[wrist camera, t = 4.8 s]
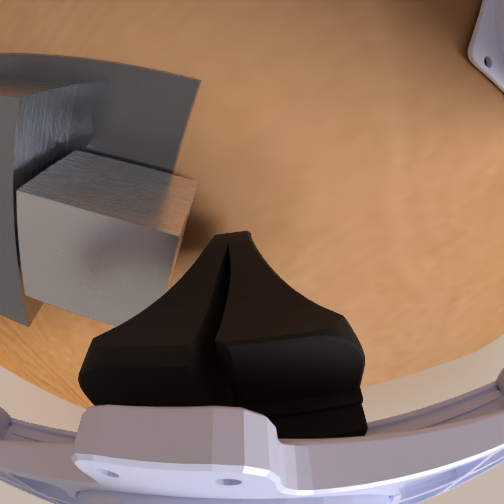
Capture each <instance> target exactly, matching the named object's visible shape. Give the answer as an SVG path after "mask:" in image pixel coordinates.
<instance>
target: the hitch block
mask: <svg viewBox="0 0 504 504" xmlns="http://www.w3.org/2000/svg"><path fill="white" fill-rule="evenodd" d="M200 83H201V81H200V80H196V79H193V78H189V77H185V76H180V75H176V74H172V73H168V72H163V71H158V70H154V69H149V68H144V67H139V66H133V65H128V64H122V63H116V62H109V61H103V60H95V59H88V58H79V57H70V56H59V55H45V54H25V53H0V315H2V316H4V317H7V318H9V319H11V320H13V321H16V322H18V323H20V324H23V325H25V326H27V327H29V326H30V324H31V323H32V321H33V319H34V317H35V316H36V314H37V313H38V311H39V309H40V308H41V306H42V304H43V303H44V302H42V301H39V300H36V299H34V298H31V297H29V296H26V295H25V290H24V283H23V276H22V269H21V260H20V251H19V239H18V224H17V190H18V189H19V188H20V187H22V186H23V185H24V184H26V183H27V182H29V181H30V180H31V179H33V178H34V177H36V176H37V175H38V174H40V173H41V172H43V171H44V170H46V169H47V168H49V167H50V166H52V165H53V164H55V163H56V162H58V161H59V160H61V159H62V158H64V157H66V156H67V155H69V154H70V153H72V152H74V151H75V150H78V151H83V152H87V153H91V154H95V155H100V156H104V157H108V158H112V159H116V160H120V161H124V162H128V163H132V164H135V165H139V166H143V167H147V168H151V169H154V170H158V171H162V172H166V173H169V174H173V173H174V170H175V166H176V162H177V158H178V155H179V151H180V148H181V144H182V141H183V137H184V134H185V130H186V127H187V124H188V120H189V117H190V114H191V111H192V107H193V104H194V101H195V98H196V95H197V92H198V89H199V86H200Z"/></svg>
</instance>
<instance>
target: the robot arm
mask: <svg viewBox="0 0 504 504" xmlns="http://www.w3.org/2000/svg"><path fill="white" fill-rule="evenodd" d="M468 57H469V59H470V61H471V62H472V64H474V65H475V66H476V67H477V68H478V69H479V70H480V71H482V72H483V73H484V74H485V75H486V76H487V77H488V78H489V79H490V80H491V81H493V82H494V83H495V84H496V85H497V86H498V87H499V88H500V89H501V90H502V91H503V92H504V0H483V1H482V5H481V9H480V12H479V16H478V19H477V22H476V25H475V29H474V32H473V35H472V38H471V41H470V44H469V47H468ZM484 58H486V61H487V64H486V65H485V63H484ZM364 366H365V355H364V352H363V349H362V346H361V344H360V342H359V340H358V338H357V336H356V334H355V333H354V331H353V329H352V328H351V326H350V325H349V323H348V321H347V320H346V319H345V317H344V316H343V315H340V314H338V313H336V312H333V311H331V310H329V309H326V308H324V307H322V306H320V305H318V304H316V303H314V302H312V301H310V300H309V299H307V298H306V297H304V296H303V295H301V294H300V293H298V292H297V291H295V290H294V289H293V288H292V287H290V286H289V285H288V284H287V283H286V282H285V281H284V280H282V279H281V278H280V277H279V276H278V275H277V274H276V273H275V272H274V270H273V269H272V268H271V267H270V266H269V265H268V263H267V262H266V261H265V260H264V258H263V257H262V255H261V254H260V252H259V251H258V249H257V248H256V246H255V244H254V242H253V240H252V238H251V233H250V232H248V231H242V232H234V233H226V234H219V235H215V236H214V237H213V239H212V240H211V241H210V243H209V244H208V245H207V247H206V248H205V249H204V251H203V252H202V254H201V255H200V256H199V258H198V259H197V260H196V261H195V263H194V264H193V265H192V266H191V268H190V269H189V270H188V271H187V272H186V273H185V274H184V276H183V277H182V278H181V279H180V280H179V281H178V282H177V283H176V284H175V285H174V286H173V287H172V288H171V289H169V290H168V291H167V292H166V293H165V294H164V295H163V296H162V297H160V298H159V299H158V300H156V301H155V302H154V303H152V304H151V305H150V306H149V307H147V308H146V309H145V310H143V311H142V312H140V313H139V314H137V315H136V316H134V317H132V318H131V319H129V320H128V321H126V322H124V323H122V324H121V325H119V326H117V327H115V328H113V329H111V330H109V331H107V332H105V333H103V334H101V335H99V336H97V337H95V338H93V340H92V342H91V344H90V347H89V349H88V352H87V354H86V357H85V359H84V362H83V364H82V367H81V370H80V372H79V377H78V381H79V385H80V387H81V389H82V390H83V392H84V393H85V395H86V396H87V397H88V399H89V400H90V401H91V402H92V403H93V404H94V405H95V406H91V407H88V408H87V409H86V411H85V412H84V413H83V415H82V418H81V421H80V425H79V428H78V432H72V431H66V430H61V429H56V428H50V427H46V426H42V425H37V424H33V423H29V422H25V421H21V420H17V419H13V418H11V417H10V415H8V413H7V412H5V410H4V409H2V408H1V407H0V480H1V481H3V482H5V483H7V484H9V485H11V486H14V487H16V488H18V489H21V490H23V491H25V492H27V493H29V494H32V495H34V496H37V497H39V498H41V499H44V500H46V501H49V502H52V503H54V504H417V503H420V502H422V501H425V500H427V499H430V498H432V497H435V496H437V495H439V494H441V493H444V492H446V491H448V490H450V489H453V488H455V487H457V486H459V485H461V484H463V483H465V482H467V481H469V480H471V479H473V478H475V477H477V476H479V475H480V474H482V473H484V472H486V471H488V470H490V469H491V468H493V467H495V466H497V465H499V464H500V463H502V462H504V368H503V370H502V371H501V373H500V374H499V376H498V378H497V380H496V381H494V382H492V383H490V384H487V385H485V386H482V387H480V388H478V389H475V390H473V391H470V392H467V393H465V394H462V395H460V396H457V397H454V398H451V399H449V400H446V401H443V402H440V403H437V404H434V405H431V406H428V407H425V408H421V409H418V410H415V411H411V412H408V413H404V414H401V415H397V416H394V417H390V418H386V419H382V420H378V421H373V422H369V423H367V422H366V418H365V415H364V411H363V407H362V402H363V396H362V393H361V389H360V384H361V380H362V375H363V371H364Z"/></svg>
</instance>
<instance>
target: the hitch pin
mask: <svg viewBox="0 0 504 504" xmlns="http://www.w3.org/2000/svg"><path fill="white" fill-rule="evenodd" d="M197 185H198V181H194V180H191V179H187V178H184V177H180V176H177V175H173V174H169V173H166V172H162V171H158V170H154V169H151V168H147V167H143V166H139V165H135V164H132V163H128V162H124V161H120V160H116V159H112V158H108V157H104V156H100V155H95V154H91V153H87V152H83V151H78V150H75V151H74V152H72V153H70V154H69V155H67V156H66V157H64V158H62V159H61V160H59V161H58V162H56V163H55V164H53V165H52V166H50V167H49V168H47V169H46V170H44V171H43V172H41V173H40V174H38V175H37V176H36V177H34V178H33V179H31V180H30V181H29V182H27V183H26V184H24V185H23V186H22V187H20V188H19V189H18V190H17V224H18V239H19V251H20V260H21V269H22V276H23V283H24V290H25V295H26V296H29V297H31V298H34V299H36V300H39V301H42V302H44V303H47V304H50V305H52V306H55V307H58V308H61V309H63V310H66V311H69V312H72V313H75V314H78V315H81V316H84V317H87V318H90V319H93V320H96V321H99V322H102V323H105V324H109V325H112V326H115V327H117V326H119V325H121V324H122V323H124V322H126V321H128V320H129V319H131V318H132V317H134V316H136V315H137V314H139V313H140V312H142V311H143V310H145V309H146V308H147V307H149V306H150V305H151V304H152V303H154V302H155V301H156V300H158V299H159V298H160V297H162V296H163V295H164V294H165V293H166V292H167V291H168V290H169V287H170V283H171V280H172V276H173V273H174V269H175V265H176V261H177V257H178V253H179V250H180V246H181V242H182V238H183V234H184V231H185V227H186V223H187V220H188V216H189V213H190V209H191V205H192V202H193V198H194V195H195V192H196V188H197Z"/></svg>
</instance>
